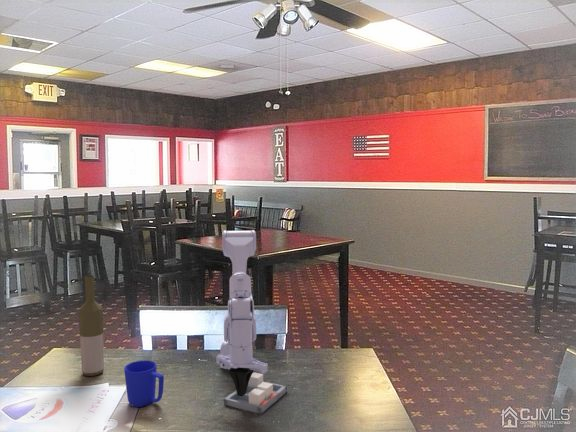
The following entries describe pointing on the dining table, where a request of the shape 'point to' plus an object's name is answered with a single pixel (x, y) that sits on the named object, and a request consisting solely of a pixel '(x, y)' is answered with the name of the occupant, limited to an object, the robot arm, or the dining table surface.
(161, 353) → the dining table surface
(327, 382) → the dining table surface
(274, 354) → the dining table surface
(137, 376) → the mug
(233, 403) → the switch bank
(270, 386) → the tab mid
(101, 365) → the bottle
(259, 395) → the tab near
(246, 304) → the robot arm
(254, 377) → the tab far
